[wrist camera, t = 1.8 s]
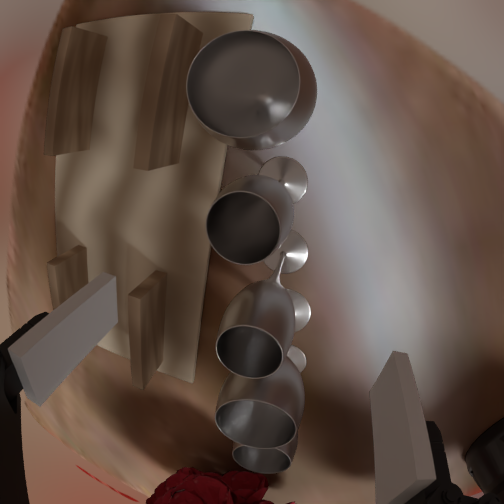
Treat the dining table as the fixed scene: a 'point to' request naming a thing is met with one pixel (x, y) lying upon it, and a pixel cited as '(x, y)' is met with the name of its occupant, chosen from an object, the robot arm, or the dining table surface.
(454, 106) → the dining table surface
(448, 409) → the dining table surface
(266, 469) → the goblet set
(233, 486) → the bouquet
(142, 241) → the glass rack
